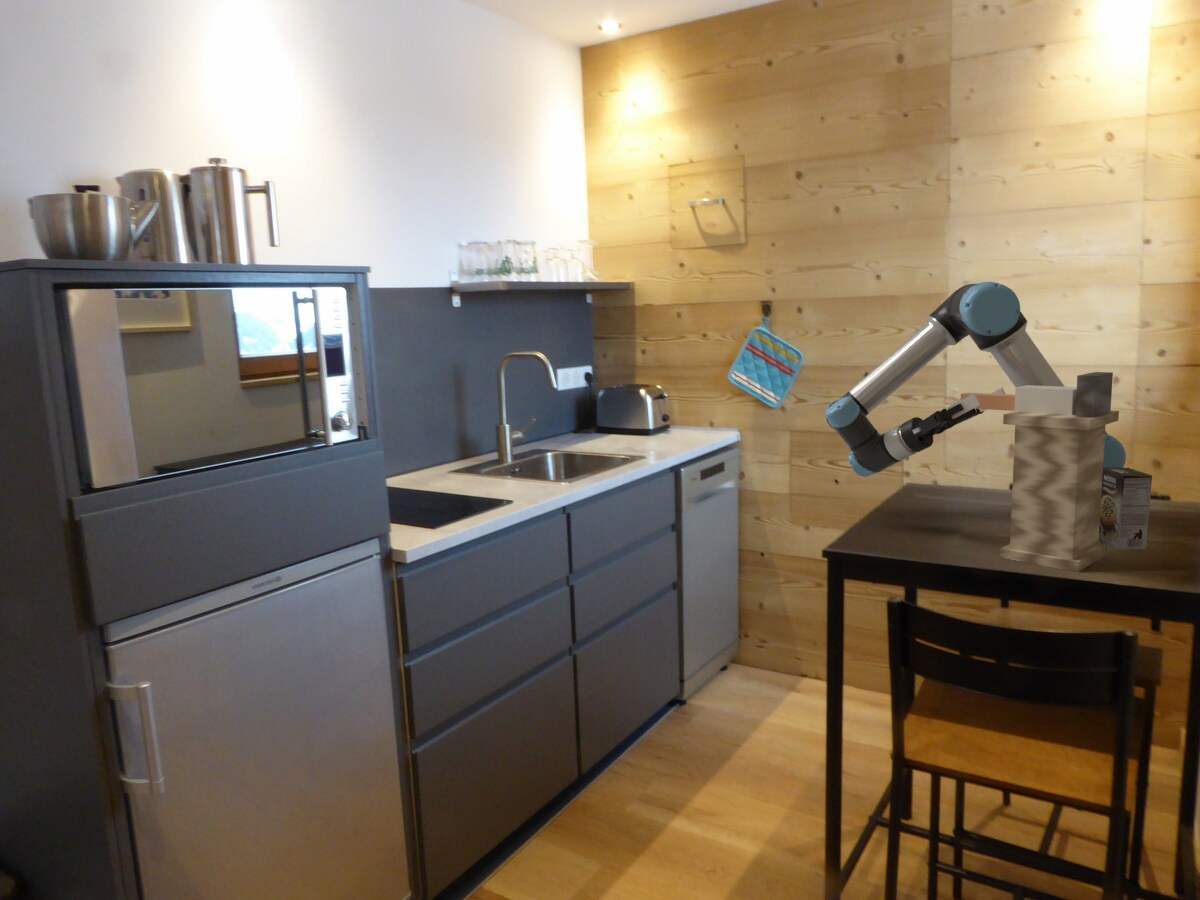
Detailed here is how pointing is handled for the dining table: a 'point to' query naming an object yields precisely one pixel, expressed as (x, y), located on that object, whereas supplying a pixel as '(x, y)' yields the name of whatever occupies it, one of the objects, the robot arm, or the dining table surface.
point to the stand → (1060, 480)
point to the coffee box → (1125, 508)
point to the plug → (1031, 400)
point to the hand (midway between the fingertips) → (991, 396)
